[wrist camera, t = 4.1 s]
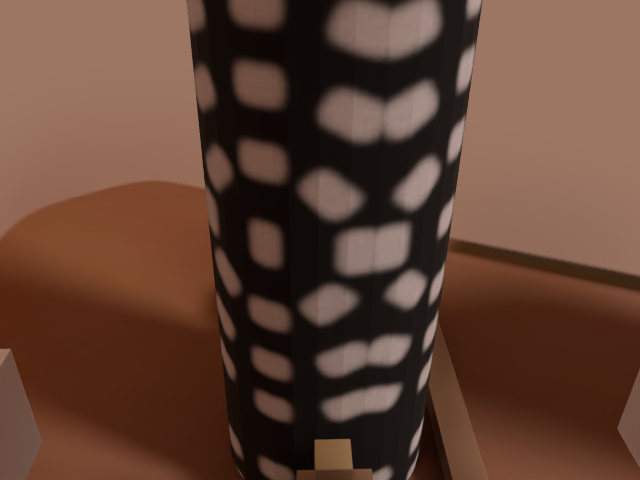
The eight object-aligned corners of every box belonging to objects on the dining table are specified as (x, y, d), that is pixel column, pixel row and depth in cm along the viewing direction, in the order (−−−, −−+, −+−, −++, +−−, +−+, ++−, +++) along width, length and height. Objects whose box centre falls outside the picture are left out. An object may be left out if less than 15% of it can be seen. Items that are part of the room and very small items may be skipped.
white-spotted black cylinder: (290, 347, 32) (281, -86, 21) (444, 404, 28) (522, -75, 18) (191, 465, 25) (109, -69, 15) (374, 555, 22) (431, -47, 12)
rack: (429, 315, 34) (439, 239, 32) (521, 625, 20) (553, 535, 18) (265, 317, 34) (261, 240, 31) (243, 633, 20) (233, 543, 17)
